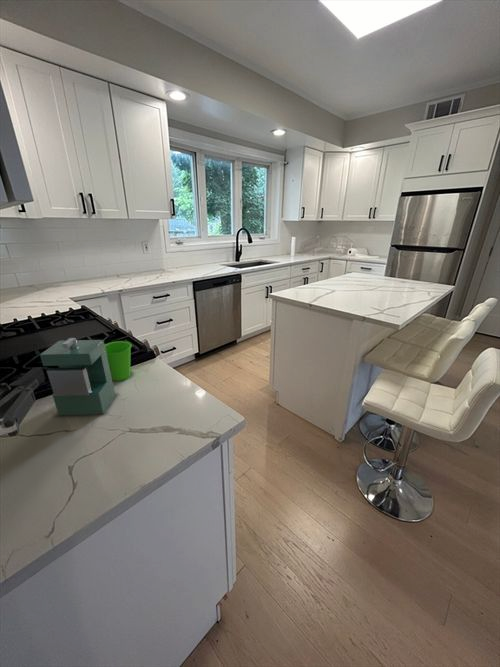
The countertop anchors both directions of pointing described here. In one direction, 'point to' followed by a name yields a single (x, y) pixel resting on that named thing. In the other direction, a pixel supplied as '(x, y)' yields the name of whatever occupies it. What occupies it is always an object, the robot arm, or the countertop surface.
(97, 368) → the dispenser
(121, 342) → the cup
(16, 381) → the robot arm
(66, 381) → the plate
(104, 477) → the countertop surface
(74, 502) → the countertop surface
